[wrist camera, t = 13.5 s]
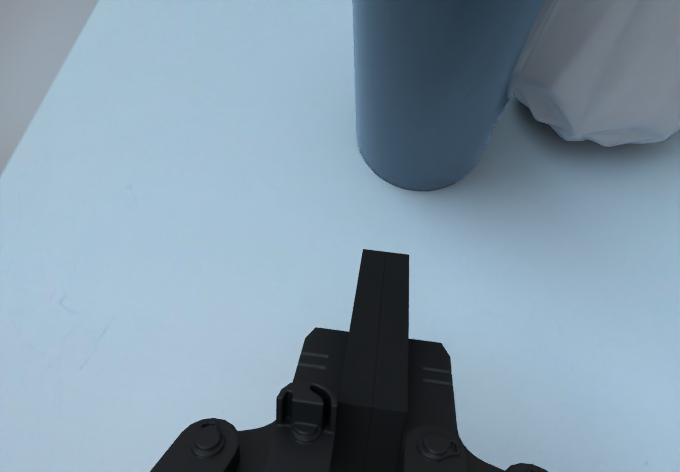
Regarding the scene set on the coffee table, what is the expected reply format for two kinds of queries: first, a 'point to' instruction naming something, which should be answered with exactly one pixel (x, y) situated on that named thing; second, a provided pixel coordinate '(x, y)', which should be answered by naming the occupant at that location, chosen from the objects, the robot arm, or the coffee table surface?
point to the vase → (607, 71)
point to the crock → (437, 81)
